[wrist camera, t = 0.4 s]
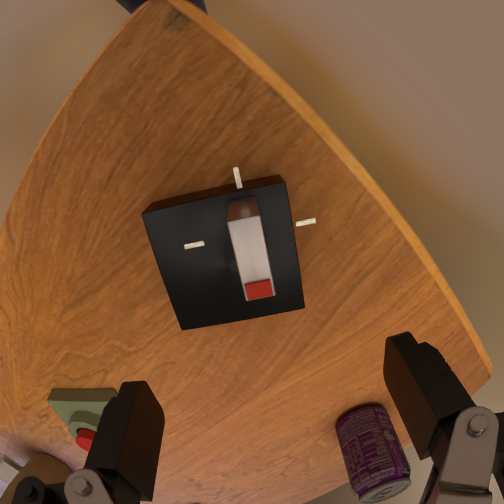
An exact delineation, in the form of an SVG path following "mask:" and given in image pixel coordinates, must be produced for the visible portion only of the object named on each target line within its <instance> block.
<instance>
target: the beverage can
mask: <svg viewBox="0 0 504 504" xmlns="http://www.w3.org/2000/svg"><path fill="white" fill-rule="evenodd" d="M336 433H337V437H338V440H339V444H340V447H341V451H342V455H343V458H344V462H345V466H346V469H347V473H348V477H349V481H350V484H351V488H352V491H353V493H354V494H355V495H356V496H357V497H358V498H359V502H360V503H361V504H374V503H378V502H382V501H385V500H387V499H390V498H392V497H394V496H396V495H398V494H400V493H401V492H403V491H405V490H406V489H407V488H408V487H409V486H410V485H411V480H410V479H409V477H410V466H409V463H408V461H407V459H406V456H405V453H404V451H403V448H402V446H401V444H400V441H399V439H398V436H397V434H396V432H395V429H394V427H393V424H392V422H391V420H390V417H389V415H388V413H387V411H386V409H385V408H383V407H380V406H370V407H365V408H361V409H358V410H356V411H354V412H352V413H350V414H348V415H347V416H346V417H344V418H343V419H342V420H341V421H340V422H339V423H338V425H337V427H336Z"/></svg>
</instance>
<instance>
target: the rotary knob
mask: <svg viewBox="0 0 504 504" xmlns="http://www.w3.org/2000/svg"><path fill="white" fill-rule="evenodd" d="M227 225H228V230H229V234H230V238H231V242H232V246H233V250H234V255H235V259H236V263H237V267H238V271H239V275H240V279H241V283H242V287H243V291H244V295H245V299H246V301H250V300H255V299H260V298H265V297H270V296H275V295H276V293H275V288H274V282H273V277H272V272H271V267H270V262H269V257H268V251H267V246H266V241H265V236H264V231H263V226H262V221H261V216H260V212H259V208H258V204H257V199H256V196H251V197H246V198H241V199H237V200H232V201H229V206H228V217H227Z"/></svg>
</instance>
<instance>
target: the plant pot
mask: <svg viewBox="0 0 504 504" xmlns="http://www.w3.org/2000/svg"><path fill="white" fill-rule="evenodd" d="M70 474H71V473H70V469H69V468H68V467H67V466H66V465H65V464H64V463H63V462H61V461H60V460H58V459H56V458H54V457H52V456H50V455H47V454H44V453H38V454H36V455H35V456H34V457H33V458H32V459H31V460H30V461H29V462H28V463H27V464H26V465H25V466H24V467H23V468H22V469H21V470H20V471H19V473H18V474H17V475H16V476H15V477H14V479H13V480H12V481H11V483H10V484H9V486H8V487H7V488H6V490H5V492H4V493H3V495H2V497H1V498H0V504H11V502H12V499H13V496H14V492H15V489H16V487H17V485H18V483H19V482H20V481H21V480H22V479H23V478H25V477H28V476H35V477H37V478H39V479H40V480H41V481H43V482H44V483H45V484H54V483H61V482H66V480H67V478H68V477H69V476H70Z"/></svg>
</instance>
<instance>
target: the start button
mask: <svg viewBox="0 0 504 504" xmlns="http://www.w3.org/2000/svg"><path fill="white" fill-rule="evenodd" d="M95 432H96V431H93V430H91V429H88V428H80V429H79V432H78V434H77V437H76V443H77V444H78V445H79V446H80V447H81V448H83V449H84V450H86V451H88V452H89V450H90V447H91V444H92V441H93V438H94V435H95Z"/></svg>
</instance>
